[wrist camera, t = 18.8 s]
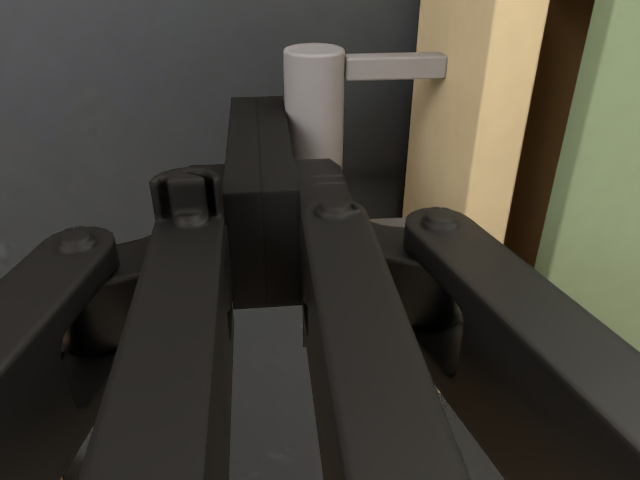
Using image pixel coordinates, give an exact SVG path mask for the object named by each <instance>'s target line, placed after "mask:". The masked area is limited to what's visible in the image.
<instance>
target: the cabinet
mask: <svg viewBox="0 0 640 480" xmlns="http://www.w3.org/2000/svg"><path fill="white" fill-rule="evenodd" d="M534 269H535V270H536V271H538V272H539V273H540V274H541V275H543V276H544V277H545V278H546V279H548V280H549V281H550V282H552V283H553V284H554V285H555V286H557V287H558V288H559V289H560V290H562V291H563V292H564V293H565V294H567V295H568V296H569V297H571V298H572V299H573V300H574V301H576V302H577V303H578V304H579V305H581V306H582V307H583V308H584V309H586V310H587V311H588V312H590V313H591V314H592V315H593V316H595V317H596V318H597V319H598V320H600V321H601V322H602V323H603V324H605V325H606V326H607V327H609V328H610V329H611V330H612V331H614V332H615V333H616V334H617V335H619V336H620V337H621V338H623V339H624V340H625V341H626V342H628V343H629V344H630V345H631V346H633V347H634V348H635V349H636V350H638V351H639V352H640V0H595V2H594V7H593V11H592V15H591V20H590V24H589V29H588V33H587V37H586V42H585V46H584V51H583V55H582V59H581V64H580V68H579V73H578V77H577V82H576V86H575V90H574V95H573V99H572V104H571V108H570V112H569V117H568V121H567V126H566V130H565V134H564V139H563V143H562V148H561V152H560V156H559V161H558V165H557V170H556V174H555V178H554V183H553V187H552V192H551V196H550V200H549V205H548V209H547V214H546V218H545V223H544V227H543V231H542V236H541V240H540V245H539V249H538V253H537V258H536V262H535V267H534Z"/></svg>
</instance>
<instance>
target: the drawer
mask: <svg viewBox="0 0 640 480" xmlns="http://www.w3.org/2000/svg"><path fill="white" fill-rule="evenodd" d="M594 2H595V0H421V3H420V14H419V26H418V38H417V50H416V52H410V53H361V54H345V51H344V49H343V48H342V47H340V46H337V45H333V44H326V43H303V44H295V45H291V46H288V47H286V48H285V49H284V51H283V62H284V97H285V111H286V117H287V122H288V127H289V133H290V138H291V144H292V149H293V154H294V160H304V159H329V158H330V159H331V160H333V161H334V162H335V163H337V164H338V165H340V166H341V169H342V158H343V116H344V78H345V79H346V80H347V81H369V80H409V79H414V85H413V97H412V109H411V121H410V132H409V144H408V156H407V168H406V180H405V191H404V203H403V215H402V218H384V219H370V221H371V222H374V223H378V224H381V225H387V226H395V227H403V228H405V220H406V216H407V215H409V214H410V213H411V212H413V211H415V210H419V209H422V208H431V207H440V208H441V207H444V208H449V209H450V210H454V211H457V212H460V213H462V214H464V215H466V216H467V217H469V218H470V219H472V220H473V221H474V222H475V223H477V224H478V225H479V226H480V227H482V228H483V229H484V230H486V231H487V232H488V233H489V234H491V235H492V236H493V237H494V238H496V239H497V240H498V241H500V242H501V243H502V244H503V245H505V246H506V247H507V248H508V249H510V250H511V251H512V252H513V253H515V254H516V255H517V256H519V257H520V258H521V259H522V260H524V261H525V262H526V263H527V264H529V265H530V266H531V267H532V268H534V267H535V262H536V258H537V253H538V249H539V245H540V240H541V236H542V231H543V227H544V223H545V218H546V214H547V209H548V205H549V200H550V196H551V192H552V187H553V183H554V178H555V174H556V170H557V165H558V161H559V156H560V152H561V148H562V143H563V139H564V134H565V130H566V126H567V121H568V117H569V112H570V108H571V104H572V99H573V95H574V90H575V86H576V82H577V77H578V73H579V68H580V64H581V59H582V55H583V51H584V46H585V42H586V37H587V33H588V29H589V24H590V20H591V15H592V11H593V7H594ZM437 390H438V389H437ZM438 392H439V393H440V391H439V390H438Z"/></svg>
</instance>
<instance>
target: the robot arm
mask: <svg viewBox="0 0 640 480" xmlns="http://www.w3.org/2000/svg"><path fill="white" fill-rule="evenodd" d="M149 184H150V190H151V196H152V202H153V208H154V214H155V220H156V221H155V225H154V228H153V231H152V235H150V236H147V237H145V238H142V239H139V240H135V241H131V242H127V243H122V244H117V245H116V243H115V239H114V236H113V233H112V232H110V231H108V230H107V229H104V228H99V227H84V226H78V227H75V228H73V227H72V228H68V229H65V230H64V231H62V232H59V233H56V234H54V235H52V236H50V237H49V238H47V239H46V240H44V241H43V242H42V243H41V244H39V245H38V246H37V247H36V248H35V249H34V250H33V251H32V252H31V253H29V254H28V255H27V256H26V257H25V258H24V259H23V260H22V261H21V262H19V263H18V264H17V265H16V266H15V267H14V268H13V269H12V270H11V271H10V272H8V273H7V274H6V275H5V276H4V277H3V278H2V279H1V280H0V480H61V478H62V476H63V475H64V473H65V471H66V470H67V468H68V466H69V465H70V463H71V461H72V460H73V458H74V457H75V455H76V453H77V452H78V450H79V448H80V447H81V445H82V443H83V442H84V440H85V439H86V437H87V435H88V434H89V432H90V430H91V429H92V427H93V425H94V428H93V431H92V434H91V438H90V441H89V444H88V448H87V451H86V454H85V458H84V461H83V464H82V468H81V471H80V474H79V478H78V480H229V458H230V428H231V398H232V368H233V338H234V318H233V309H247V308H262V307H278V306H294V305H302V301H303V347H307V355H308V363H309V370H310V378H311V386H312V394H313V401H314V409H315V417H316V425H317V432H318V440H319V448H320V456H321V463H322V471H323V479H324V480H471V478H470V475H469V473H468V470H467V468H466V465H465V463H464V460H463V457H462V455H461V452H460V450H459V447H458V445H457V442H456V439H455V437H454V434H453V432H452V429H451V427H450V424H449V422H448V419H447V416H446V414H445V411H444V409H443V406H442V404H441V401H440V398H439V396H438V393H437V391H436V388H435V386H436V387H437V389H438V390H439V391H440V393H441V394H442V395H443V397H444V398H445V399H446V401H447V402H448V403H449V405H450V406H451V407H452V409H453V410H454V411H455V413H456V414H457V415H458V417H459V418H460V420H461V421H462V422H463V424H464V425H465V426H466V428H467V429H468V430H469V432H470V433H471V434H472V436H473V437H474V438H475V440H476V441H477V442H478V444H479V445H480V446H481V448H482V449H483V450H484V452H485V453H486V454H487V456H488V457H489V459H490V460H491V461H492V463H493V464H494V465H495V467H496V468H497V469H498V471H499V472H500V473H501V475H502V476H503V477H504V479H505V480H640V352H639V351H638V350H636V349H635V348H634V347H633V346H631V345H630V344H629V343H628V342H626V341H625V340H624V339H623V338H621V337H620V336H619V335H617V334H616V333H615V332H614V331H612V330H611V329H610V328H609V327H607V326H606V325H605V324H603V323H602V322H601V321H600V320H598V319H597V318H596V317H595V316H593V315H592V314H591V313H590V312H588V311H587V310H586V309H584V308H583V307H582V306H581V305H579V304H578V303H577V302H576V301H574V300H573V299H572V298H571V297H569V296H568V295H567V294H565V293H564V292H563V291H562V290H560V289H559V288H558V287H557V286H555V285H554V284H553V283H552V282H550V281H549V280H548V279H546V278H545V277H544V276H543V275H541V274H540V273H539V272H538V271H536V270H535V269H534V268H532V267H531V266H530V265H529V264H527V263H526V262H525V261H524V260H522V259H521V258H520V257H519V256H517V255H516V254H515V253H513V252H512V251H511V250H510V249H508V248H507V247H506V246H505V245H503V244H502V243H501V242H500V241H498V240H497V239H496V238H494V237H493V236H492V235H491V234H489V233H488V232H487V231H486V230H484V229H483V228H482V227H480V226H479V225H478V224H477V223H475V222H474V221H473V220H472V219H470V218H469V217H467V216H466V215H464V214H462V213H460V212H457V211H454V210H450V209H449V208H444V207H441V208H440V207H431V208H422V209H419V210H415V211H413V212H411V213H410V214H409V215H407V216H406V220H405V228H403V227H395V226H387V225H381V224H378V223H374V222H371V221H370V219H369V216H368V214H367V211H366V210H365V208H364V207H363V206H362V205H361V204H359V203H357V202H355V201H353V199H352V196H351V194H350V191H349V188H348V185H347V184H346V180H345V177H344V174H343V172H342V169H341V166H340V165H338V164H337V163H335V162H334V161H333V160H331V159H330V158H329V159H304V160H294V154H293V149H292V144H291V138H290V133H289V127H288V122H287V117H286V111H285V106H284V100H283V96H270V97H236V98H231V108H230V119H229V129H228V140H227V150H226V160H225V164H218V165H194V166H189V167H186V168H177V169H172V170H169V171H165V172H162V173H160V174H158V175H156V176H154V177H153V178H152V180H151V181H150V182H149ZM232 302H233V308H232ZM62 340H63V341H62ZM434 385H435V386H434Z"/></svg>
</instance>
